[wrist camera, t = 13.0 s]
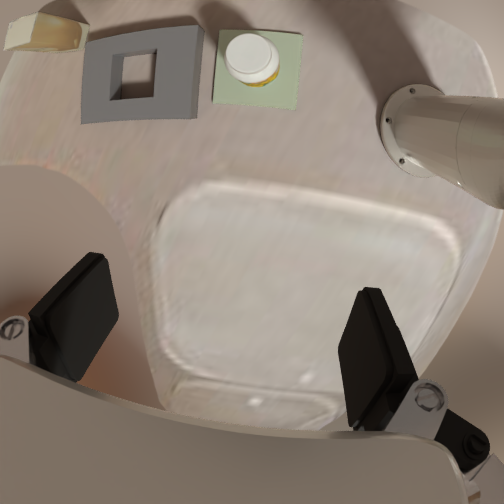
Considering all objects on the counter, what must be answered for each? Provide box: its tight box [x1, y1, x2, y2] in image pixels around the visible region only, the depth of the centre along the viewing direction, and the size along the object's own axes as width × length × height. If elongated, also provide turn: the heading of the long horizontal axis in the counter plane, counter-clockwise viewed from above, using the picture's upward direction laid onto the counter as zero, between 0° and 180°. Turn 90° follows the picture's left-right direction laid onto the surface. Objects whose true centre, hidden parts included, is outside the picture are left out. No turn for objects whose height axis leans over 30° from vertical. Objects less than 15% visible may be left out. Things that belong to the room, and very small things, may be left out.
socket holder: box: [81, 25, 205, 124], centre depth 29 cm, size 16×12×3 cm
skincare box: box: [3, 12, 90, 53], centre depth 22 cm, size 6×4×12 cm
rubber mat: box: [213, 30, 303, 110], centre depth 29 cm, size 10×10×1 cm
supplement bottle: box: [224, 33, 280, 88], centre depth 25 cm, size 5×5×10 cm
